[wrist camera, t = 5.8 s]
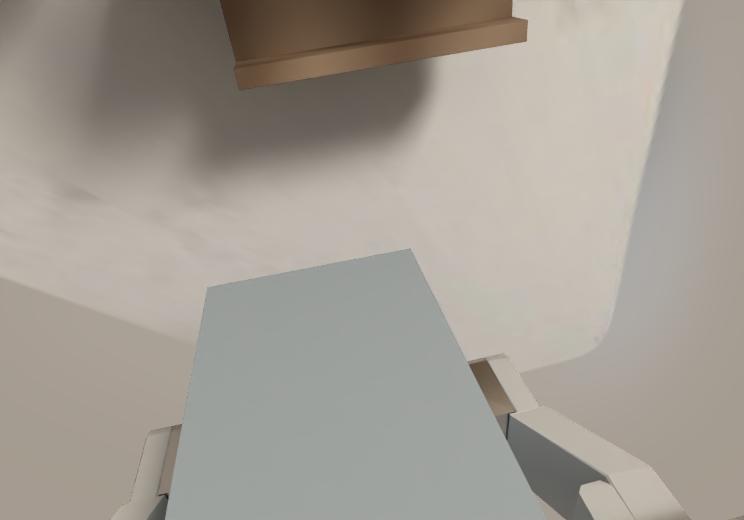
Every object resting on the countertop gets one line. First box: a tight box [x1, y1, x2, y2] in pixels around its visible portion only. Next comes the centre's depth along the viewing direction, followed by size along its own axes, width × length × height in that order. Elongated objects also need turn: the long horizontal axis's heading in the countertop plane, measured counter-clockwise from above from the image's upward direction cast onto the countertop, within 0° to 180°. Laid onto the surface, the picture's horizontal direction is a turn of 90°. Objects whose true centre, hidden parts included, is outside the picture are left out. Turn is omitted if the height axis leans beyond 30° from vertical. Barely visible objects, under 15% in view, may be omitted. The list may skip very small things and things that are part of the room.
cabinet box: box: [165, 249, 546, 520], centre depth 10 cm, size 5×6×7 cm
